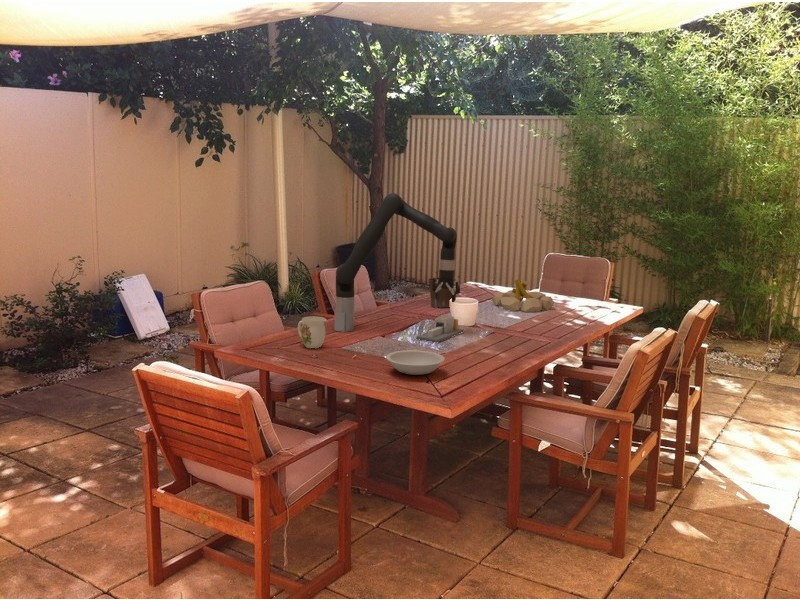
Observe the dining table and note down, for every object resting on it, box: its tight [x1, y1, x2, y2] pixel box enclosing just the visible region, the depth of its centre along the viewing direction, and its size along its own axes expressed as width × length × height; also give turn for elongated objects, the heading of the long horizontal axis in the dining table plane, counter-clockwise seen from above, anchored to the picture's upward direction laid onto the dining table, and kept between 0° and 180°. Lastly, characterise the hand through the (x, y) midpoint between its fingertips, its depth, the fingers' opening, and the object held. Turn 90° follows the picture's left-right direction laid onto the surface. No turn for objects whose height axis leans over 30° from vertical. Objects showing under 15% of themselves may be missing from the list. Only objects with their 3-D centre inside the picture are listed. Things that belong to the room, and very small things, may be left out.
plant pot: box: [427, 277, 457, 309], centre depth 461 cm, size 16×16×16 cm
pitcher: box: [297, 315, 327, 349], centre depth 358 cm, size 11×18×14 cm, turn 50°
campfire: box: [491, 279, 555, 313], centre depth 467 cm, size 35×34×17 cm
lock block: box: [434, 315, 455, 334], centre depth 390 cm, size 10×6×7 cm, turn 150°
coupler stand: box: [415, 318, 465, 343], centre depth 387 cm, size 28×12×6 cm, turn 150°
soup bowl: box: [385, 349, 446, 376], centre depth 321 cm, size 24×24×7 cm
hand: (445, 300), depth 388 cm, fingers open, 8 cm apart
